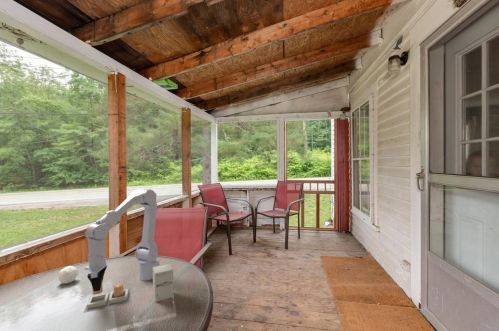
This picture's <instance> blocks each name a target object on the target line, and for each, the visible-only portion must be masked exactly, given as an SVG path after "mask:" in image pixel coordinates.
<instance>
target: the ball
mask: <svg viewBox="0 0 499 331" xmlns="http://www.w3.org/2000/svg"><path fill="white" fill-rule="evenodd" d="M78 275H79V269H77V267H75V266H72V265H69V266H65V267H64V268H62V269H60V271H59V272H58V274H57V276H58V277H57V278H58V281H59V282H60V283H61V284H65V285H67V284H71V283H73V282H74V281H75V280H76V279H77V277H78Z"/></svg>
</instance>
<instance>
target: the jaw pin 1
mask: <svg viewBox="0 0 499 331" xmlns="http://www.w3.org/2000/svg"><path fill="white" fill-rule="evenodd" d="M91 288H92V287H91ZM103 288H104V286H103V283H101V289H100V291H95V292H94V291H93V288H92V290H91V291H92V295H93V296H96V295H101V293H102V292H103V291H104V290H103Z"/></svg>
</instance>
